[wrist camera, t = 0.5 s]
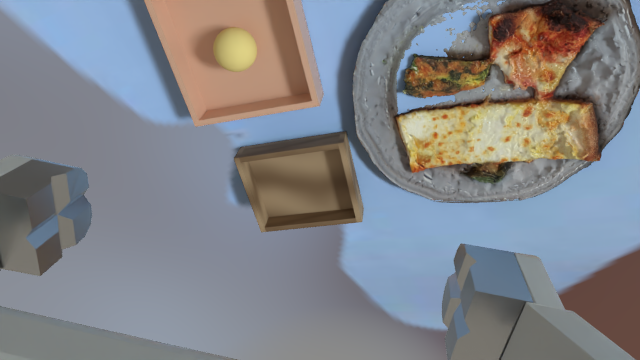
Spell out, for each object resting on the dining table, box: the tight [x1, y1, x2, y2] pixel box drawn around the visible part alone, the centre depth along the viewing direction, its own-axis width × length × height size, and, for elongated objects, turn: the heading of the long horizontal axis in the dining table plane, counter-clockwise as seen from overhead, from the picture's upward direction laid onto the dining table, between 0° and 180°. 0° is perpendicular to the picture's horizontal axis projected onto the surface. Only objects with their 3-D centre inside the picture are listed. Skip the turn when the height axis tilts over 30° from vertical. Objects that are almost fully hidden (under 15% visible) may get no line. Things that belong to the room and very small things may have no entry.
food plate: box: [352, 0, 640, 203], centre depth 42 cm, size 25×23×4 cm
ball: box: [213, 27, 257, 72], centre depth 42 cm, size 4×4×4 cm
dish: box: [144, 0, 324, 126], centre depth 43 cm, size 13×13×3 cm
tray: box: [234, 131, 364, 232], centre depth 51 cm, size 10×12×3 cm
